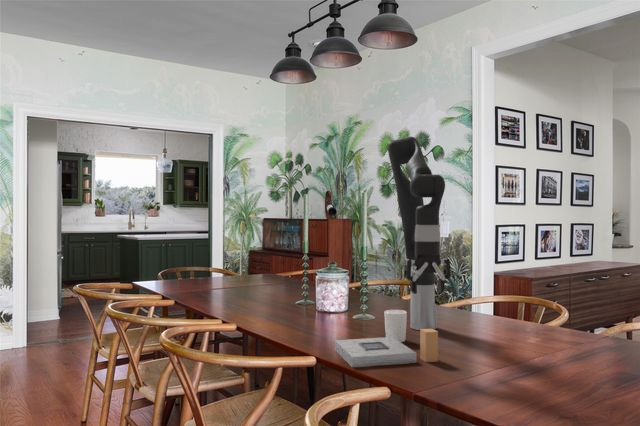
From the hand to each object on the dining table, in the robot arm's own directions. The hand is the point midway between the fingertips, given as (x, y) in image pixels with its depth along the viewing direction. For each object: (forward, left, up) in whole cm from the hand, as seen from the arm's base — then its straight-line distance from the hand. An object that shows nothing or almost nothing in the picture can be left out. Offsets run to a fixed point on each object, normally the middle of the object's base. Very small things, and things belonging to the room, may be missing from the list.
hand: (427, 292), depth 155 cm
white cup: (+1, -25, -21) cm, 32 cm away
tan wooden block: (0, 0, -20) cm, 20 cm away
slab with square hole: (+15, -8, -20) cm, 26 cm away
